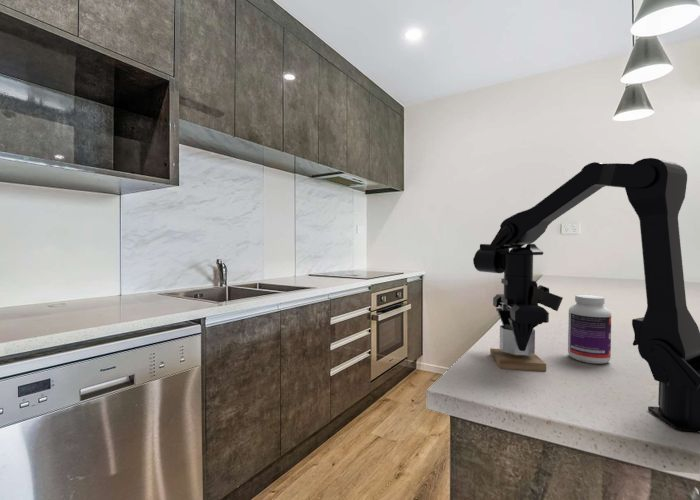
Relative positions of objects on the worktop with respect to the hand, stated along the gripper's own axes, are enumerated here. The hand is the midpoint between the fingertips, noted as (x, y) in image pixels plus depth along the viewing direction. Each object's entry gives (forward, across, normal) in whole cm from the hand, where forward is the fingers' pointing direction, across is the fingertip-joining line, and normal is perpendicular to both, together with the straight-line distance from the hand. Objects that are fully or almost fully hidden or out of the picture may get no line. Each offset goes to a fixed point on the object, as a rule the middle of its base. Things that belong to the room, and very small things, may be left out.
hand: (517, 345), depth 78 cm
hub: (+1, 0, 0) cm, 1 cm away
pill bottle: (+4, +5, -17) cm, 18 cm away
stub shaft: (+4, 0, 0) cm, 4 cm away
